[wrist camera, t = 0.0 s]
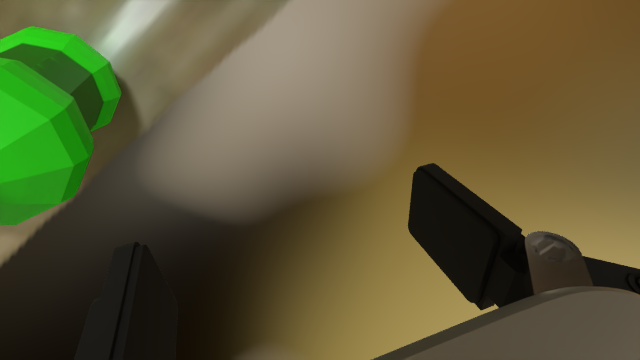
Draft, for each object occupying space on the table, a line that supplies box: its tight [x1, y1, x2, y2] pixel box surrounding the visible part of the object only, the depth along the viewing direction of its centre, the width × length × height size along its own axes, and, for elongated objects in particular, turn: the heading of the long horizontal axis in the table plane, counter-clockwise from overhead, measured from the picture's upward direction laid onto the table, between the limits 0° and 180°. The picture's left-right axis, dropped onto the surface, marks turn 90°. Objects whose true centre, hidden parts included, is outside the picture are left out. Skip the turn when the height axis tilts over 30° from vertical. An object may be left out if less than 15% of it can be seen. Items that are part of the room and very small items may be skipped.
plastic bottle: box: [0, 26, 122, 225], centre depth 22 cm, size 10×10×25 cm
